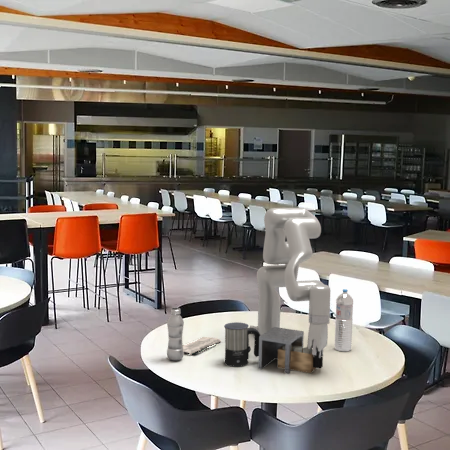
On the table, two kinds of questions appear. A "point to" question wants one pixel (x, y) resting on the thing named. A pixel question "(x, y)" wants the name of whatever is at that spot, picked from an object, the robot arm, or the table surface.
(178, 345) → the plastic bottle
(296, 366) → the glass carrier
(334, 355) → the table surface
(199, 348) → the newspaper
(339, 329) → the water bottle
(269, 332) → the gray open-front box
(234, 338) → the milk frother
